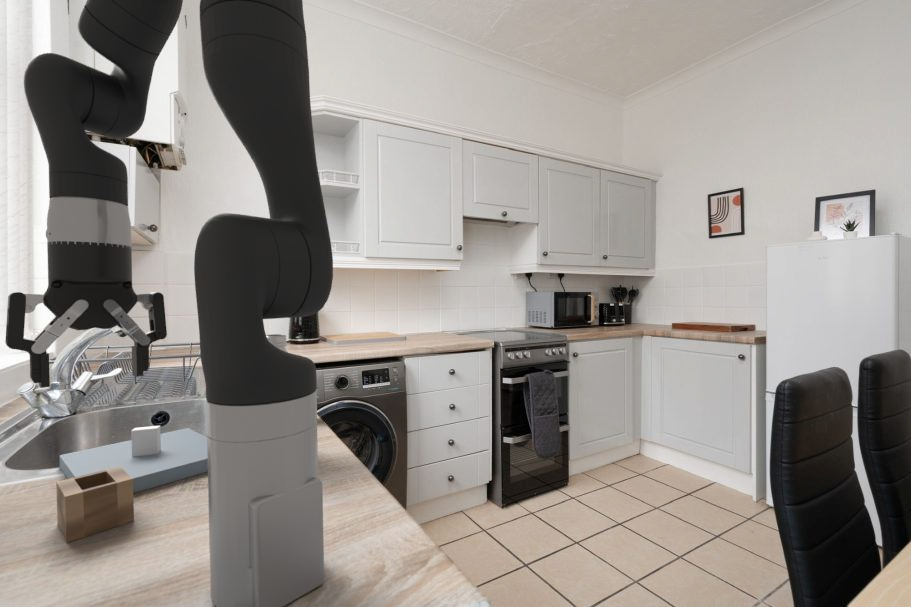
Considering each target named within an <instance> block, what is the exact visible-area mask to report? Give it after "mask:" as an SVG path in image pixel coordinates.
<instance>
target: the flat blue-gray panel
mask: <svg viewBox="0 0 911 607" xmlns="http://www.w3.org/2000/svg"><path fill="white" fill-rule="evenodd" d="M161 432H162V430H161V425H152V426H143V427H142V426H141V427H140V426H139V427H134V428H133V429H131V436H130V437H131V439H129V440H125V441H120V442H116V443H112V444H106V445H102V446H96V447H91V448H88V449H82V450H78V451H74V452H69V453H64V454H60V455H59V469H60V470H61V472H62V474H63V475H64V477H66V478H65V479H70V478H74V477H78V476H82V475H86V474H90V473H95V472H99V471H103V470H107V469H111V468H115V467H119V466H120V467H121V468H122V469H123V470H124V471H125V472H126V473H128V474H129V475H130V476H131V477H132V478H133V494H136V493H139V492H143V491H145V490H149V489H152V488H156V487H160V486H163V485H166V484H169V483H174V482H177V481H180V480H184V479H187V478H190V477H194V476H198V475H201V474H203V473H208V458H207V436H205V435H203V434H201V433H199V432H197V431H195V430H193V429H191V428H190V427H186V428H181V429H177V430H172V431H168V432H167V431H166V432H163V433H161Z"/></svg>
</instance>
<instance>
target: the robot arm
mask: <svg viewBox="0 0 911 607" xmlns="http://www.w3.org/2000/svg"><path fill="white" fill-rule="evenodd" d="M183 3H184V0H86V2H85V4H84V6H83V8H82V10H81V12H80V15H79V17H78V21H77V31H78V33H79V36H80V37H81V39H82V40H83V41H84V42H85V43H86V44H87V45H88V47H90V48H91V49H92V50H93V51H95V52H96V53H98V54H99V55H101V56H102V57H103V58H104V59H106V60H107V61H108V62H110V63H112V64H113V66H112V67H113V68H112V70H111V72H110V74H108V73H107V72H104V71H101V70H99V69H96V68H95V67H91V66H89V65H87V64H85V63H82V62H80V61H77V60H75V59H73V58H69V57H67V56H64V55H61V54H57V53H52V52H46V53H45V52H44V53H41V54H39V55H37V56H35V57H34V58H32V59H31V60H30V62H29V63H28V64H27V67H26V69H25V71H24V76H23V89H24V95H25V99H26V102H27V105H28V108H29V111H30V113H31V116H32V118H33V120H34V123H35V126H36V128H37V131H38V134H39V137H40V141H41V144H42V147H43V150H44V153H45V156H46V159H47V163H48V164H47V165H48V196H49V197H48V198H49V201H48V202H49V204H48V205H49V206H48V210H47V216H46V230H45V237H46V240H47V244H46V246H47V247H46V248H47V284H48V285H47V289H46V290H45V292H44V294H38V293H35V294H33V293H23V292H19V291H14V292H13V291H12V292H11V293H9V295H8V297H7V309H6V310H7V311H6V324H5V327H6V328H5V342H4V343H5V345H6V346H7V347H8V348H9V349H11V350H17V351H22V352H27V353H28V354H29V377H30V379H31V381H32V382H33V384H38V386H39V388H40V389H44V388H50V386H51V385H50V383H51V382H50V380H51V378H50V353H48V352H47V350H48V349H49V348H50V346H52V344H54V343H55V341H56V340H58V339H59V338H60V337H61V336H62V335H63V334H64V333H65V332H66V331H67V329H72V330H75V331H87V330H91V329H95V328H97V329H102V330H108V329H109V330H110V329H112V328H113V329H114V328H115V327H118V328H119V329H120V330H121V331H122V332H123V333H124V334H125V335H127V336H128V337H129V338H130V339H131V340H132V342H133V345H131V375H132V376H133V377H135V378H137V377H143V376H144V372H148V370H149V368H150V345H151V344H152V343H155V342H156V341H159V340H165V339H166V338H167V335H168V333H167V332H168V331H167V320H166V309H165V298H164V294H163V293H162V292H158V291H153V292H152V291H151V292H149V293H138V294H137V293H136V292H135V290H134V288H133V270H132V269H133V263H132V262H133V260H132V258H133V256H132V254H133V253H132V250H133V249H132V247H133V246H132V225H131V224H132V223H131V218H130V213H129V192H128V191H129V188H128V187H129V186H128V185H129V180H128V169H127V165H126V164H125V162H124V161H123V160H122V159H121V158H119V157H118V156H116V155H115V154H113V153H111V152H110V151H107V150H105V149H103V148H101V147H99V146H98V145H97V144H95V143H94V142H93V141H92V140H91V139H90V136H88V133H87V132H90V133H92V134H96V135H100V136H102V137H106V138H110V139H116V140H124V139H127V138H129V137H132V136H133V135H135V134H136V133H137V132H138V131H139V130H140V129H141V127H142V126H143V124H144V122H145V117H146V113H147V105H148V100H149V98H148V97H149V94H150V93H149V92H150V87H151V83H152V78H153V73H154V68H155V65H156V61H157V60H158V58H159V56H160V54H161V52H162V50H163V49H164V47H165V46H166V43H167V41H168V40H169V38H170V36H171V35H172V33H173V31H174V29H175V27H176V25H177V23H178V21H179V19H180V14H181V12H182V9H183V8H182V7H183ZM199 25H200V26H199V29H200V41H201V53H202V54H201V56H202V57H201V58H202V64H203V65H202V68H203V72H204V76H205V81H206V83H207V85H208V87H209V90H210V92H211V95H212V97H213V99H214V100H215V102H216V104H217V106H218V107H219V109H220V111H221V112H222V114H223V116H224V118H225V119H226V121H227V122H228V124H229V125H230V127H231V129H232V130H233V132H234V134H235V135H236V136H237V139H238V140H239V141H240V143H241V144H242V145H243V147H244V149H245V150H246V151H247V153H248V155H249V157H250V159H251V160H252V162H253V164H254V165H255V167H256V170H257V172H258V175H259V177H260V180H261V182H262V185H263V188H264V193H265V196H266V202H267V206H268V214H269V218H268V217H261V216H254V215H247V214H242V213H241V214H240V213H230V212H229V213H228V212H227V213H226V212H225V213H219V214H215V215H213V216H211V217H210V218H208V219H207V221H205V222H204V224H203V226H202V227H201V229H200V231H199V234H198V236H197V239H196V245H195V250H194V262H193V266H194V267H193V268H194V269H193V270H194V271H193V272H194V273H193V274H194V288H195V297H196V298H195V299H196V308H197V310H196V311H197V318H198V320H197V321H198V322H197V323H198V334H199V351H200V352H199V354H200V362H201V366H202V372H203V376H204V383H205V399H206V400H205V401H206V403H205V404H206V431H207V432H206V437H207V458H208V472H207V490H208V491H207V492H208V496H207V497H208V499H207V500H208V539H209V542H208V543H209V544H208V546H209V569H210V570H209V572H210V573H209V575H210V598H211V601H212V603H213V605H214V606H215V607H285V606H286V605H288V604H291V603H292V602H294V601H295V600H296V599H299V598H301V597H302V596H304V595H306V594H307V593H309V592H311V591H313V590H314V589H316V588H317V587H320V586H321V585H323V584H324V583H325V554H324V550H325V549H324V545H325V544H324V541H325V540H324V501H323V500H324V497H323V490H324V489H323V481H322V480H321V479H320V478H319V452H318V400H317V399H318V398H317V391H318V390H317V388H318V386H317V385H318V384H317V383H318V381H317V366H316V364H315V363H314V361H313V360H312V359H310V358H309V357H307V356H302V355H301V354H300V355H299V354H295V353H291V352H288V351H287V352H285V351H282V350H280V349H279V348H277V347H275V346H274V345H272V344H271V343H270V342H269V341H268V339H267V337H266V335H267V333H266V331H265V324H264V320H273V319H276V320H277V319H285V318H288V319H291V318H303V317H304V318H305V317H310V316H313V315H315V314H317V313H319V312H320V311H321V310H322V309H323V308H324V307H325V305H326V303H328V300H329V297H330V294H331V291H332V287H333V286H332V285H333V279H334V260H333V259H334V257H333V250H332V241H331V235H330V231H329V225H328V224H329V223H328V219H327V214H326V209H325V202H324V197H323V192H322V187H321V186H322V185H321V181H320V175H319V169H318V168H319V167H318V162H317V154H316V145H315V137H314V136H315V135H314V130H313V128H314V127H313V116H312V115H313V114H312V106H311V90H310V89H311V88H310V69H309V68H310V66H309V56H308V44H307V43H308V42H307V32H306V31H307V30H306V25H305V18H304V5H303V0H200V1H199ZM137 303H140V304H141V307H142V308H143V310H146V311H147V313H148V323H149V331H147V332H144V330H143V329H141V327H140V326H139V324H137V323H136V321H134V319H133V318H131V316H130V315H129V313H130V312H131V310H132V309H133V308H134V307H135V306H136V305H137ZM40 304H43V305H44V306H45V308H47V309H48V310H49V311H50V312H51V313H52V314H53V315H54V318H52V319H51V321H50V322H49V323H47V325H46V326H45V327H44V328H43V330H42V331H41V332H40V333H39V334H38V335H37V336H36V337H35V338H34V339H29V338H25V337H24V336H25V322H26V320H25V319H26V314H31V313H33V312H34V311H35V310H36V307H37V306H38V305H40Z"/></svg>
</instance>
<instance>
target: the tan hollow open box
mask: <svg viewBox="0 0 911 607" xmlns="http://www.w3.org/2000/svg"><path fill="white" fill-rule="evenodd" d="M55 483H56V486H55V488H56V518H57V527H58V528H59V531H60V533H61V535H62V536H63V539H64V542H65V543H66V544H68V543H70V542H74V541H77V540H80V539H83V538H85V537H89V536H91V535H95V534H98V533H101V532H103V531H104V532H105V531H107V530H110V529H113V528H116V527H118V526H119V527H120V526H122V525H123V526H124V525H126V524H128V523H132V522H134V521H135V512H134V511H135V510H134V509H135V508H134V503H135V502H134V493H133V478H132V477H131V476H130V475H129V474H128V473H126V472H125V471H124V470H123V469H122V468H121V467H120V466H119V467H115V468H111V469H107V470H103V471H99V472H95V473H90V474H86V475H82V476H78V477H74V478H70V479H67V478H65V479H62V480H58V481H56V482H55Z"/></svg>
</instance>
